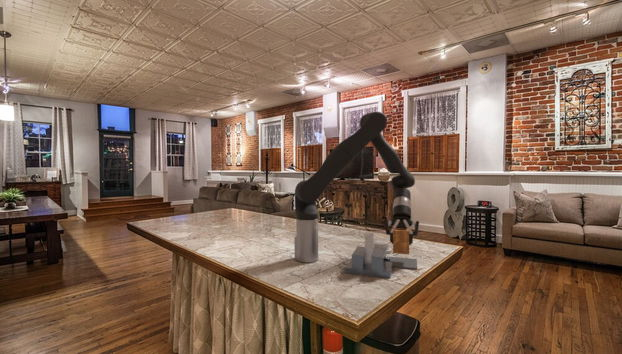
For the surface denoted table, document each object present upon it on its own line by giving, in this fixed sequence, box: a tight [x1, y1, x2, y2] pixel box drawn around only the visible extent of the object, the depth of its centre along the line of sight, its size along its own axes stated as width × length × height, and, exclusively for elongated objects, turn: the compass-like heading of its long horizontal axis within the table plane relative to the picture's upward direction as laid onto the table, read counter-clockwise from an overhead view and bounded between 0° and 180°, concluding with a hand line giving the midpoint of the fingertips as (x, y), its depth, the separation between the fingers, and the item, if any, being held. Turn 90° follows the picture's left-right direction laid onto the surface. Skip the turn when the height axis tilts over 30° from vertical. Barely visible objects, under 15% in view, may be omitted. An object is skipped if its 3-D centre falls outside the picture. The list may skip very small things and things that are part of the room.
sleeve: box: [392, 228, 410, 255], centre depth 116 cm, size 6×6×9 cm
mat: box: [386, 255, 418, 271], centre depth 116 cm, size 12×12×1 cm
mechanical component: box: [374, 240, 393, 255], centre depth 134 cm, size 10×4×10 cm
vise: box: [344, 231, 394, 279], centre depth 109 cm, size 16×12×14 cm
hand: (401, 243), depth 115 cm, fingers closed on sleeve, 6 cm apart
